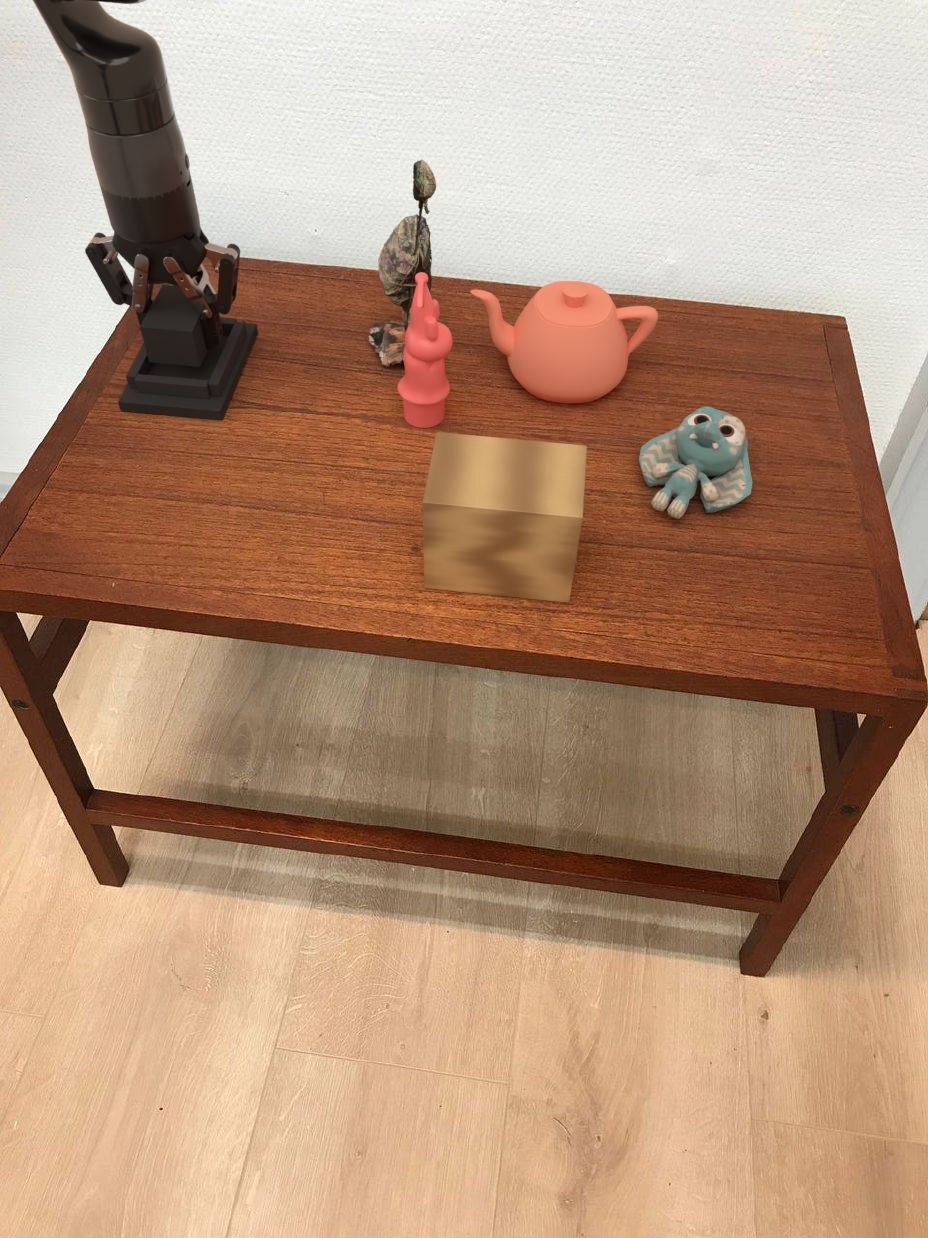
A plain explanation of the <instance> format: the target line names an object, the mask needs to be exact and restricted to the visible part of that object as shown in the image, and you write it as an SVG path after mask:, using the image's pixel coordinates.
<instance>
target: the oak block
mask: <svg viewBox="0 0 928 1238" xmlns="http://www.w3.org/2000/svg"><path fill="white" fill-rule="evenodd" d="M587 454H588V445H584V444H574V443H563V442H552V441H551V442H550V441H541V440H540V441H539V440H529V439H518V438H508V437H507V438H506V437H498V436H497V437H496V436H486V435H474V434H473V435H472V434H463V433H452V432H442V431H437V432H435V438H434V443H433V447H432V452H431V457H430V463H429V468H428V472H427V478H426V483H425V488H424V493H423V497H422V503H421V504H422V505H421V506H422V536H423V537H422V545H423V547H422V548H423V586H424V587H423V588H424V589H428V590H439V591H448V592H458V593H459V592H460V593H469V594H478V595H489V596H490V595H491V596H500V597H508V598H509V597H510V598H518V599H529V600H536V601H537V600H538V601H547V602H558V603H570V600H571V595H572V589H573V582H574V577H575V570H576V563H577V557H578V551H579V544H580V540H581V539H580V538H581V534H582V533H581V532H582V526H583V520H584V506H585V490H586V474H587V473H586V471H587V456H588V455H587Z"/></svg>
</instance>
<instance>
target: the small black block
mask: <svg viewBox="0 0 928 1238" xmlns="http://www.w3.org/2000/svg"><path fill="white" fill-rule="evenodd" d="M153 300H154V301H153V303H152V305H151V307H150V309H149V311H148V312H147V314H146V316H145V318H144V320H143V322H142V323H141V325H140V324H139V331H140V334H141V337H142V340H143V343H144V345H145V348H146V352H147V355H148V359H149V362H150V363H161V364H172V365H184V366H195V367H200V366H201V364H202V362H203V360H204V358H205V356H206V353H207V351H208V349H207V348H206V345H205V340H204V336H203V331H202V327H201V322H200V316H201V315H200V313H199V312H198V310H197V309H196V307H195V305H194V304H193V302H192V300H191V299H187V298H186V296H185V295H184V293H183V291H182V290H181V288H180V287H179V286H175V285H171V284H161V287H160V288H159V290H158V292H157V294H156V296H155V298H154V299H153Z"/></svg>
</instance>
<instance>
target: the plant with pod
mask: <svg viewBox="0 0 928 1238" xmlns="http://www.w3.org/2000/svg"><path fill="white" fill-rule="evenodd" d="M412 174H413V175H412V179H413V181H412V184H413V185H412V196H413V200H415V201H416V202H418V206H417V207H418V209H419V211H418V214H414V215H409V216H408V215H407V216H405V217H404V218H403V219H401V221H400V222H399V223H398V224H397V225H396V226H395V227H394V229H392V232H391V233H390V235H389V237H388V238H387V240H386V241H385V242H384V244H383V246H382V248H381V251H380V253H379V257H378V259H377V262H378V265H377V266H378V268H377V269H378V277H379V280H380V283H381V286H382V289H383V290H384V295H385V296H386V297H387V298H388V300H390V302H391V303H392V305H396V306H399V307H401V308H402V311H401V319H402V321H399V320H397V319H391V320H388V321H386V322H384V321H382V322H380V321H379V322H376V323H371V324H370V327H369V335H368V342H369V344H371V345H372V347H375V349H374V352H375V353H378V354H379V355H378V357H380V361H381V365H383V366H386V367H390V364H391V365H392V366H395V365H396V364H397V363H398V364H402V361H404V359H403V352H404V347H405V335H406V331H407V328H408V326H409V324H410V321H411V306H412V301H413V297H414V293H415V289H416V286H417V283H416V281H415V276H416V274H417V273H420V272H423V273H426V274H427V275H428V282H427V283H426V284H427V286H428V289H429V292H430V293H431V289H432V282H433V279H432V276H433V275H432V263H433V262H432V261H433V257H432V243H431V231H430V226H429V224H427V218H426V217H425V216H423V209H424V212H425V214H426V215H429V214H430V212H431V211H430V210H429V207H428V205H429V204H428V201H429V199H431V198H432V197H433V196H434V194H435V192H436V190H437V181H436V177H435V174H434V173H433V170H432V169H431V167H430V165H429V164H428V163H427V162H426V161H425V160H424V159H420V160H417V161H416V162H414V163H413V167H412Z"/></svg>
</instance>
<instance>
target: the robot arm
mask: <svg viewBox="0 0 928 1238" xmlns="http://www.w3.org/2000/svg"><path fill="white" fill-rule="evenodd" d="M146 1H147V0H32V2H33V3H34V5H35V7H36V9H37V11H38V12H39V15H40V16H41V18H42V21H44V24H45V25H46V28H47V29H48V31H49V33H50V35H51V36H52V38H53V40H54V41H55V44H56V46H57V47H58V49H59V51H60V53H61V55H62V56H63V58H64V60H65V62H66V64H67V66H68V68H69V70H70V73H71V75H72V79H73V83H74V87H75V91H76V94H77V97H78V100H79V104H80V105H79V106H80V108H81V111H82V115H83V119H84V124H85V127H86V133H87V140H88V148H89V152H90V157H91V159H92V160H91V161H92V163H93V167H94V170H95V173H96V176H97V181H98V184H99V188H100V191H101V195H102V199H103V203H104V206H105V209H106V213H107V216H108V219H109V223H110V227H111V229H112V230H113V235H108V236H107V235H105V234H104V233H102V232H96V233H95V234H94V235H93V237H92V238H91V240H90V241H89V243H88V245H87V246H86V247H85V249H84V253H85V255H86V257H87V258H88V260H89V262H90V264H91V265H92V267H93V269H94V271H95V273H96V274H97V277H98V278H99V280H100V282H101V284H102V285H103V287H104V289H105V291H106V292H107V294H108V296H109V298H110V299H111V301H112V303H114V304H115V305H117V306H122V305H127V306H129V307H131V308H132V310H133V311H134V312H135V313H136V317H137V318H136V319H137V321H138V324H139V326H140V325H141V323H142V322H143V320H144V318H145V316H146V314H147V312H148V311H149V309H150V307H151V305H152V303H153V301H154V299H152V297H153V294H154V287H155V285H163V284H167V285H174V286H179V287H180V288H181V290H182V291H183V293H184V295H185V296H186V298H187V299H191V300H192V302H193V304H194V305H195V307H196V309H197V310H198V312H199V313H200V315H201V316H200V322H201V327H202V331H203V336H204V340H205V345H206V348H207V349H210V350H214V348H215V346H216V344H217V345H218V344H219V341H220V339H221V337H222V334H223V329H222V324H221V319H220V317H221V314H222V315H228V314H229V313H230V311H231V309H232V306H233V303H234V302H235V300H236V298H237V293H238V291H237V290H238V281H239V269H240V259H241V248H240V247H239V246H238V245H237V244H235V243H229V244H227V246H226V247H224V246H221V245H217V244H214V243H212V242H210V241H209V239H208V236H206V234H205V233H204V230H203V229H202V227H201V220H200V214H199V209H198V204H197V199H196V195H195V189H194V185H193V180H192V175H191V171H190V168H191V167H190V165H191V164H190V159H189V158H190V157H189V155H188V153H187V149H186V146H185V140H184V137H183V134H182V131H181V128H180V126H179V123H178V119H177V116H176V111H175V107H174V103H173V97H172V93H171V89H170V88H171V87H170V84H169V83H170V82H169V78H168V75H167V70H166V65H165V61H164V60H165V59H164V56H163V53H162V49H161V48H160V45H159V44H158V41H157V40H156V39H155V38H154V37H153V36H152V35H151V34H149V33H148V32H146V31H145V30H142V29H140V28H138V27H136V26H133V25H130V24H128V23H125V22H123V21H121V20H119V19H117V18H115V17H114V16H112V15H110V14H109V13H108V12H107V11H106V10H105V8H104V7H103V6H102V5H101V3H112V4H120V5H136V4H141V3H144V2H146ZM119 256H121V257H122V258H123V259H124V260H125V261H126V263H127V264H128V265H130V266H131V267H132V269H133V271H134V272H133V278H132V282H131V280H130V277H129V276H128V274H127V273H126V271H125V268H124V267H123V265H122V263H121V261H120V259H119ZM205 259H209V261H210V262H211V264H212V268H213V272H214V273H216V274H218V281H217V293H216V291H215V289H214V287H213V286H212V283H211V282H210V276H209V273H208V272H207V269H206V268H205V266H204V265H203V263H204V260H205Z"/></svg>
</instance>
